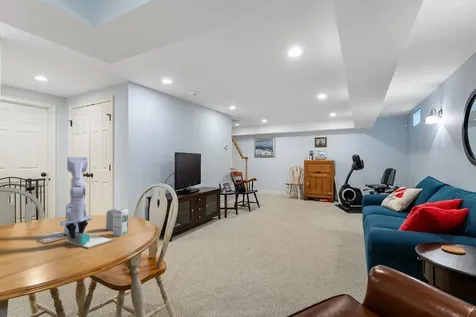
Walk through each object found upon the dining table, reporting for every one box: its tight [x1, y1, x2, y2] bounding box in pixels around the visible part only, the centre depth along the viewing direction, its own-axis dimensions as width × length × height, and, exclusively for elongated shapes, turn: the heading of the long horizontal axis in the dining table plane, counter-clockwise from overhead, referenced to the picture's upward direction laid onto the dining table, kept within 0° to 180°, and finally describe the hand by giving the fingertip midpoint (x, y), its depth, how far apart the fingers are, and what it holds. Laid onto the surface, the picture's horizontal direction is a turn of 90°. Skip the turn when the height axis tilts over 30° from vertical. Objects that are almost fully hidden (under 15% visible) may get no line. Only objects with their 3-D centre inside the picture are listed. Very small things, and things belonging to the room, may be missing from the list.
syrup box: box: [112, 208, 129, 237], centre depth 143 cm, size 6×6×14 cm
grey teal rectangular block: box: [66, 232, 91, 244], centre depth 126 cm, size 12×4×4 cm, turn 64°
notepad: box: [64, 234, 115, 250], centre depth 129 cm, size 19×14×1 cm
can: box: [105, 208, 117, 232], centre depth 153 cm, size 8×8×12 cm
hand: (76, 237), depth 126 cm, fingers closed on grey teal rectangular block, 3 cm apart
